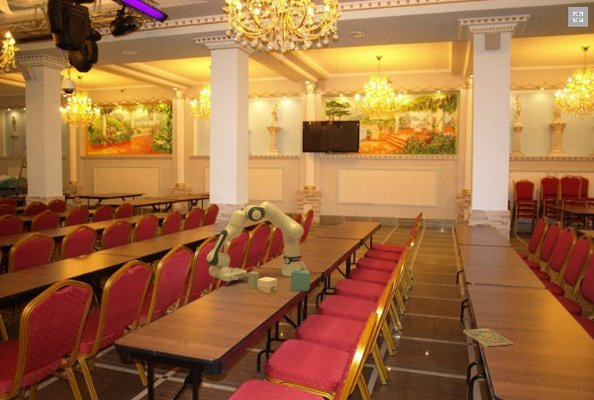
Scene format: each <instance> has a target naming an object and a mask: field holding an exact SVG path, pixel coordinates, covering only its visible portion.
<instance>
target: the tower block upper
mask: <svg viewBox="0 0 594 400" xmlns="http://www.w3.org/2000/svg"><path fill="white" fill-rule="evenodd" d="M276 285H278V278H274V277H270V276H269V277H268V276H264V277H261V278H259V279H257V286H262V287H266V288H270V287H273V286H276Z"/></svg>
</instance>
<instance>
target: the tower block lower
mask: <svg viewBox="0 0 594 400" xmlns="http://www.w3.org/2000/svg"><path fill="white" fill-rule="evenodd" d="M278 288H279V286H278V284H277V285H276V286H273V287H270V288H266V287H262V286H258V288H257V292H259V291H260V293H264V294H267V295H268V294H272V293H274V292H279V291H278V290H279V289H278Z"/></svg>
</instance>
